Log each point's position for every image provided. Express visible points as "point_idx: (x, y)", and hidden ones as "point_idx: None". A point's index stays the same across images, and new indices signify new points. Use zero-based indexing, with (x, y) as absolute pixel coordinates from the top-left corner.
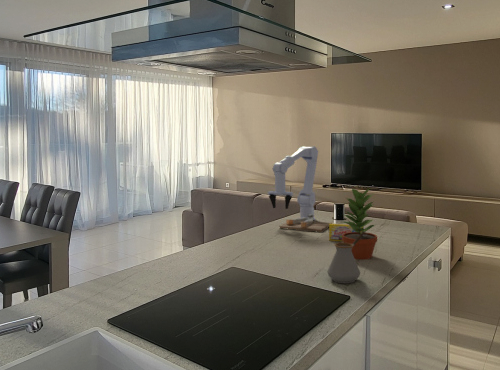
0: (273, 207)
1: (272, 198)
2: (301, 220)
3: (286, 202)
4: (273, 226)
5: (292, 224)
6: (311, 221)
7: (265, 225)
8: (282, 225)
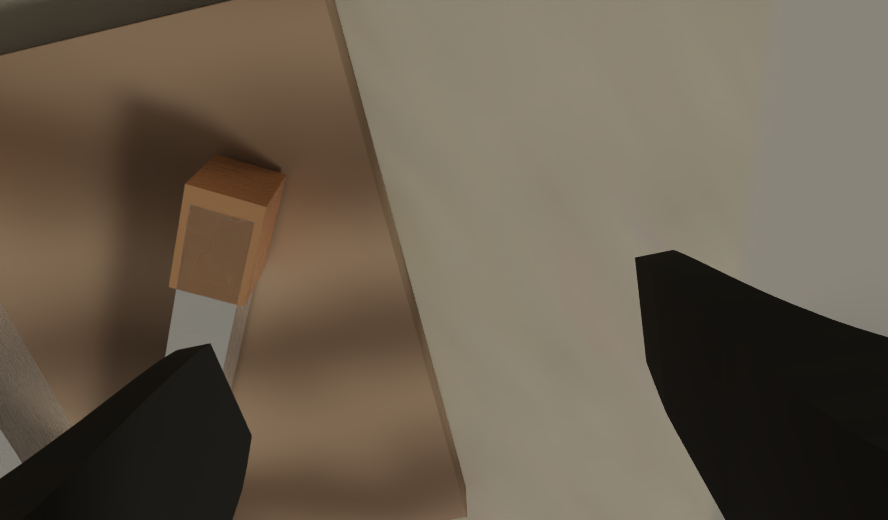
0: (660, 256)
1: (877, 436)
2: None
3: (10, 489)
4: (545, 84)
5: None
6: None
7: (731, 70)
8: (297, 62)
